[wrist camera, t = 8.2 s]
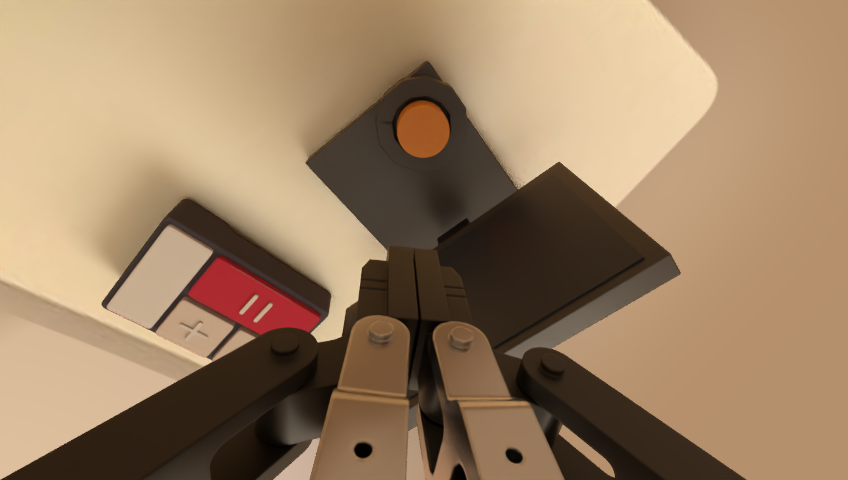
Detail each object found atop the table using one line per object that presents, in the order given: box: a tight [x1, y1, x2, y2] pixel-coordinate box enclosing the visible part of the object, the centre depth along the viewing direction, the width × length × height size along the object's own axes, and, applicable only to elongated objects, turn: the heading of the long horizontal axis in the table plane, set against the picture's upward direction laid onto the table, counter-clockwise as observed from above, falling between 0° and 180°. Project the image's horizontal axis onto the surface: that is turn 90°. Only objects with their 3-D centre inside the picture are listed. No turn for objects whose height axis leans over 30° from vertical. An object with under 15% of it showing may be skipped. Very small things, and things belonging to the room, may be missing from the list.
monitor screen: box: [342, 162, 680, 431], centre depth 24 cm, size 2×18×12 cm, turn 127°
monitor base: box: [306, 61, 517, 251], centre depth 34 cm, size 15×12×3 cm
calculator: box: [102, 199, 331, 361], centre depth 37 cm, size 11×4×15 cm
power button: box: [397, 100, 450, 158], centre depth 29 cm, size 4×4×2 cm
